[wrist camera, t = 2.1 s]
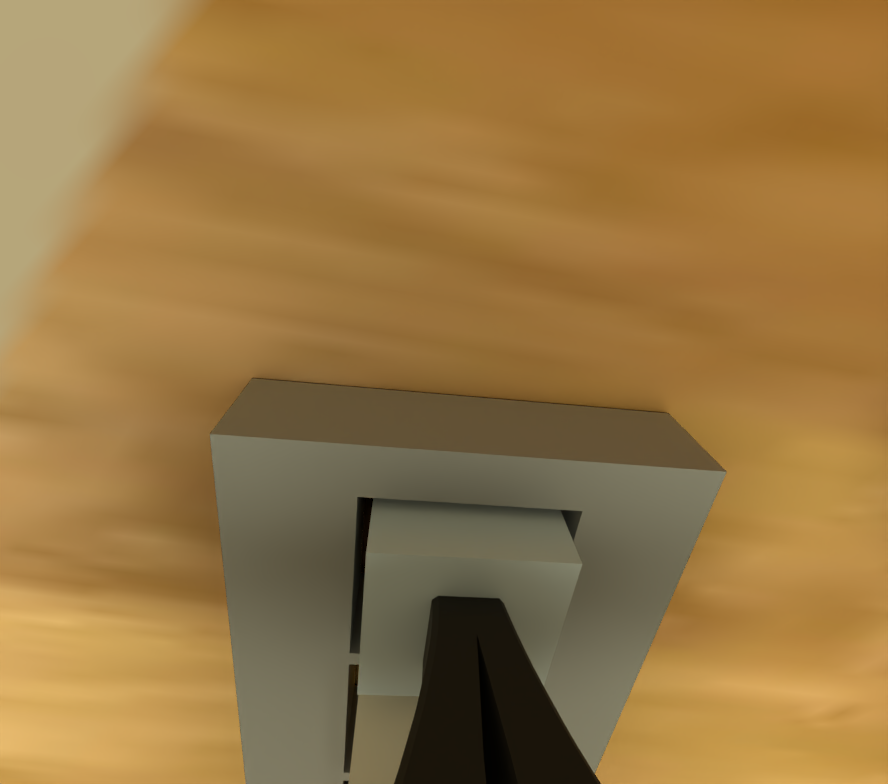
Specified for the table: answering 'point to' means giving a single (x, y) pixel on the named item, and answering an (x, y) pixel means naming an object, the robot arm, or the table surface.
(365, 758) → the key ivory
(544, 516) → the key slate
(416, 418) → the keypad base
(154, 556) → the table surface
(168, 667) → the table surface
